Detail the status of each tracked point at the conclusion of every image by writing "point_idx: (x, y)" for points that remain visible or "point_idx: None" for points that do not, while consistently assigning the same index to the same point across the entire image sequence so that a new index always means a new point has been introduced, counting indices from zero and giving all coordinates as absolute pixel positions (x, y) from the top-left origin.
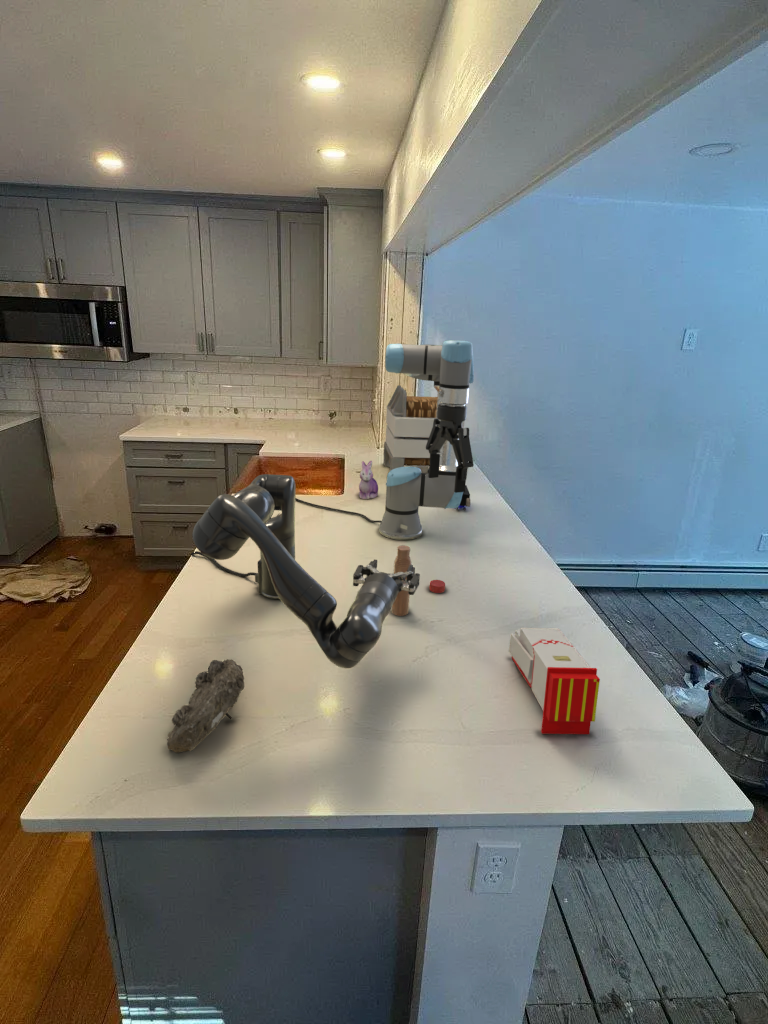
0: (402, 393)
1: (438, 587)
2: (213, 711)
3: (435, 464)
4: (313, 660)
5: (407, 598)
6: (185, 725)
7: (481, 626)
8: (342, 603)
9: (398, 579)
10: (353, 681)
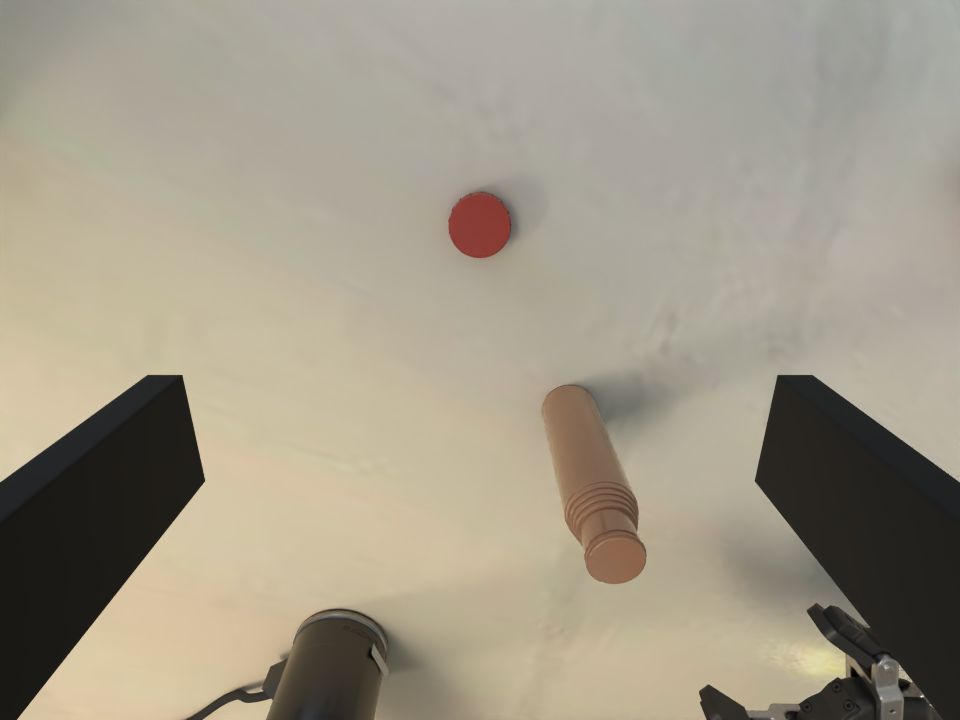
0: None
1: (507, 238)
2: None
3: (84, 536)
4: (675, 650)
5: (605, 427)
6: None
7: (770, 212)
8: (460, 530)
9: (904, 712)
10: (786, 609)
